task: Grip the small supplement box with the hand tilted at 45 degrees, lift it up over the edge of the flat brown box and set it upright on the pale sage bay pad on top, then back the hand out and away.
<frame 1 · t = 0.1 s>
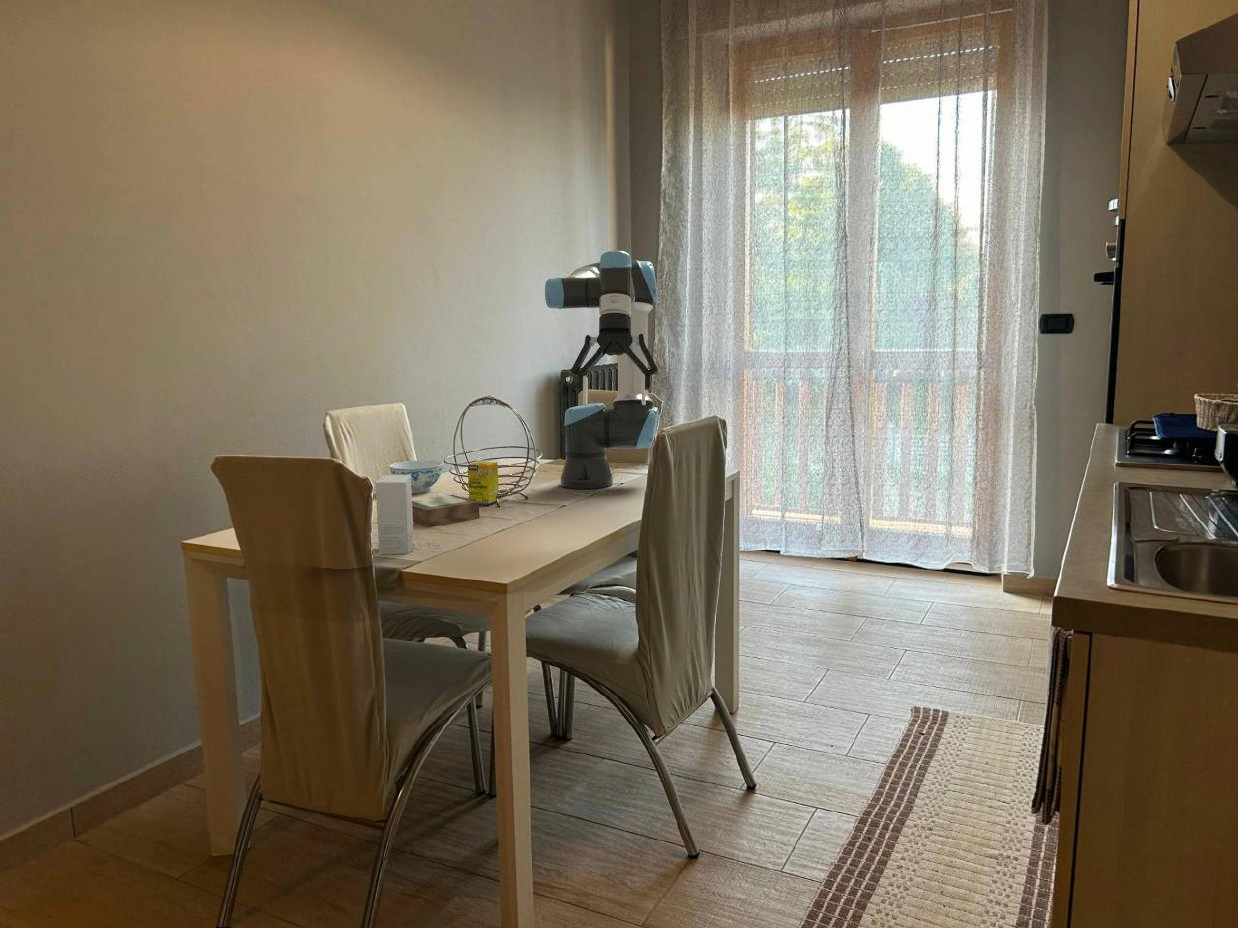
hand: (614, 404, 213), 28 cm above the table, tool tilted 20°, fingers open, 13 cm apart
chinaware: (417, 491, 263), on the table
flat brown box: (441, 518, 226), on the table
supplement box: (484, 504, 242), on the table
skincare box: (397, 550, 195), on the table
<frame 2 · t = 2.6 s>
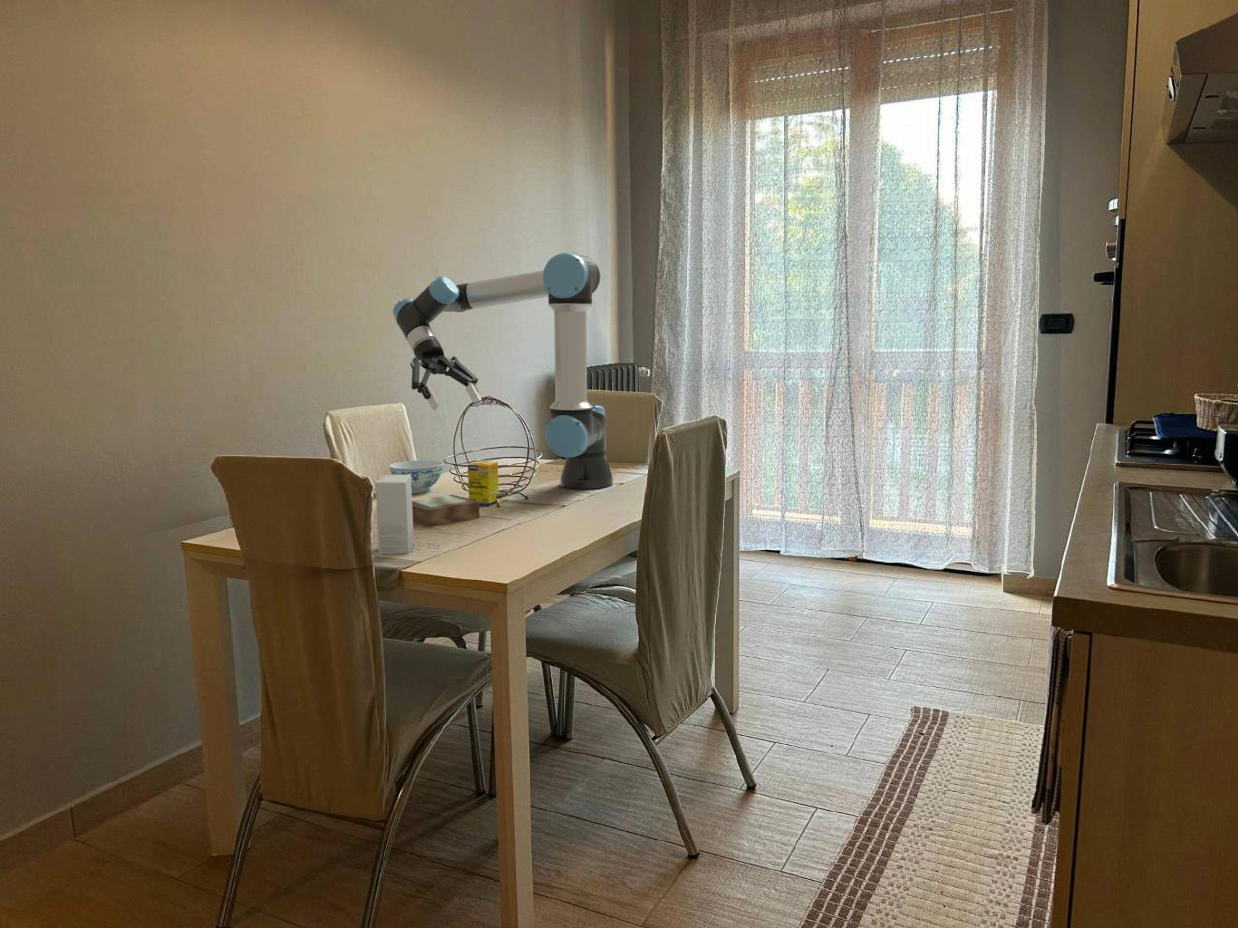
hand: (458, 405, 246), 25 cm above the table, tool tilted 45°, fingers open, 13 cm apart
nothing on the table moved.
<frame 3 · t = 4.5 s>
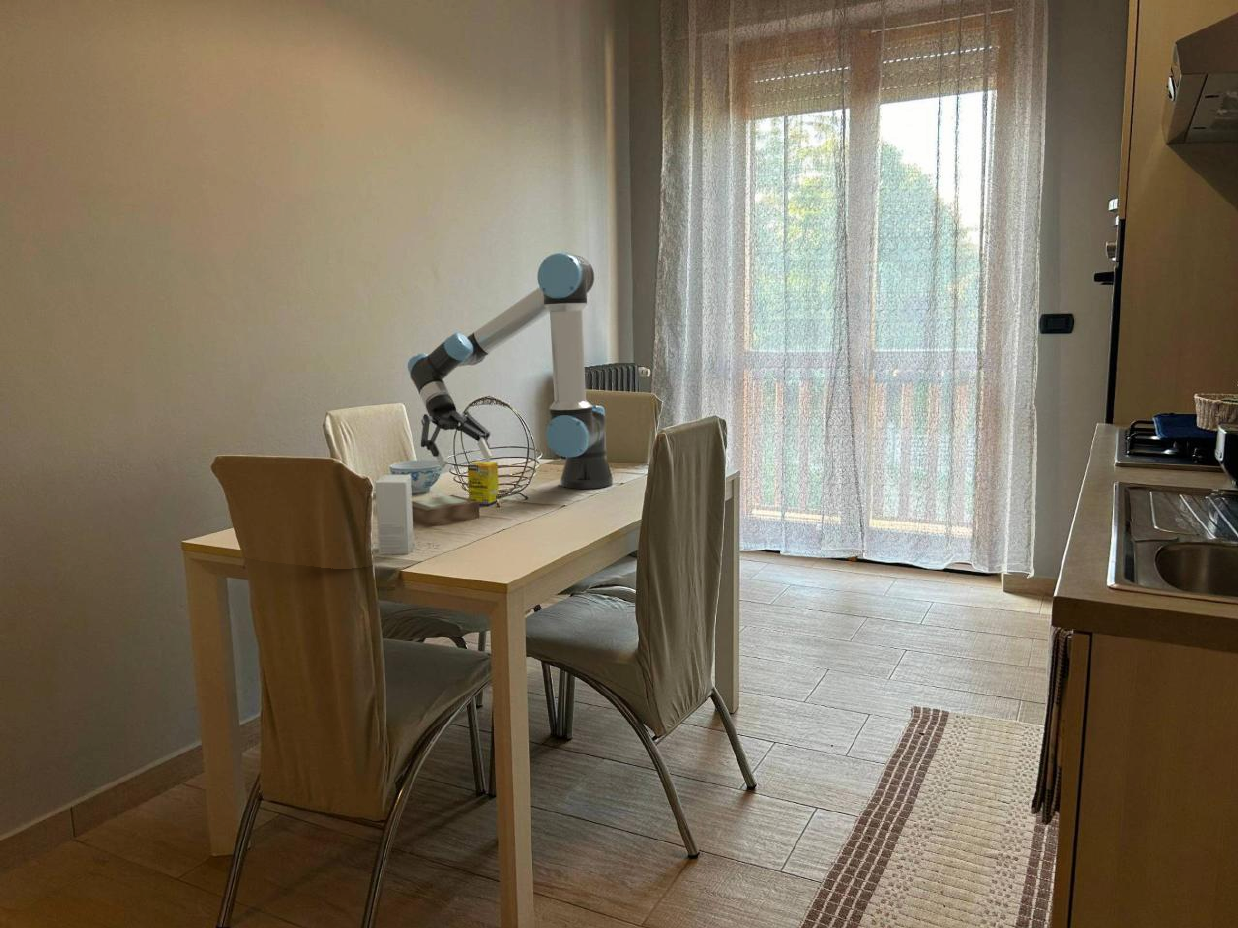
hand: (467, 462, 245), 11 cm above the table, tool tilted 45°, fingers open, 13 cm apart
nothing on the table moved.
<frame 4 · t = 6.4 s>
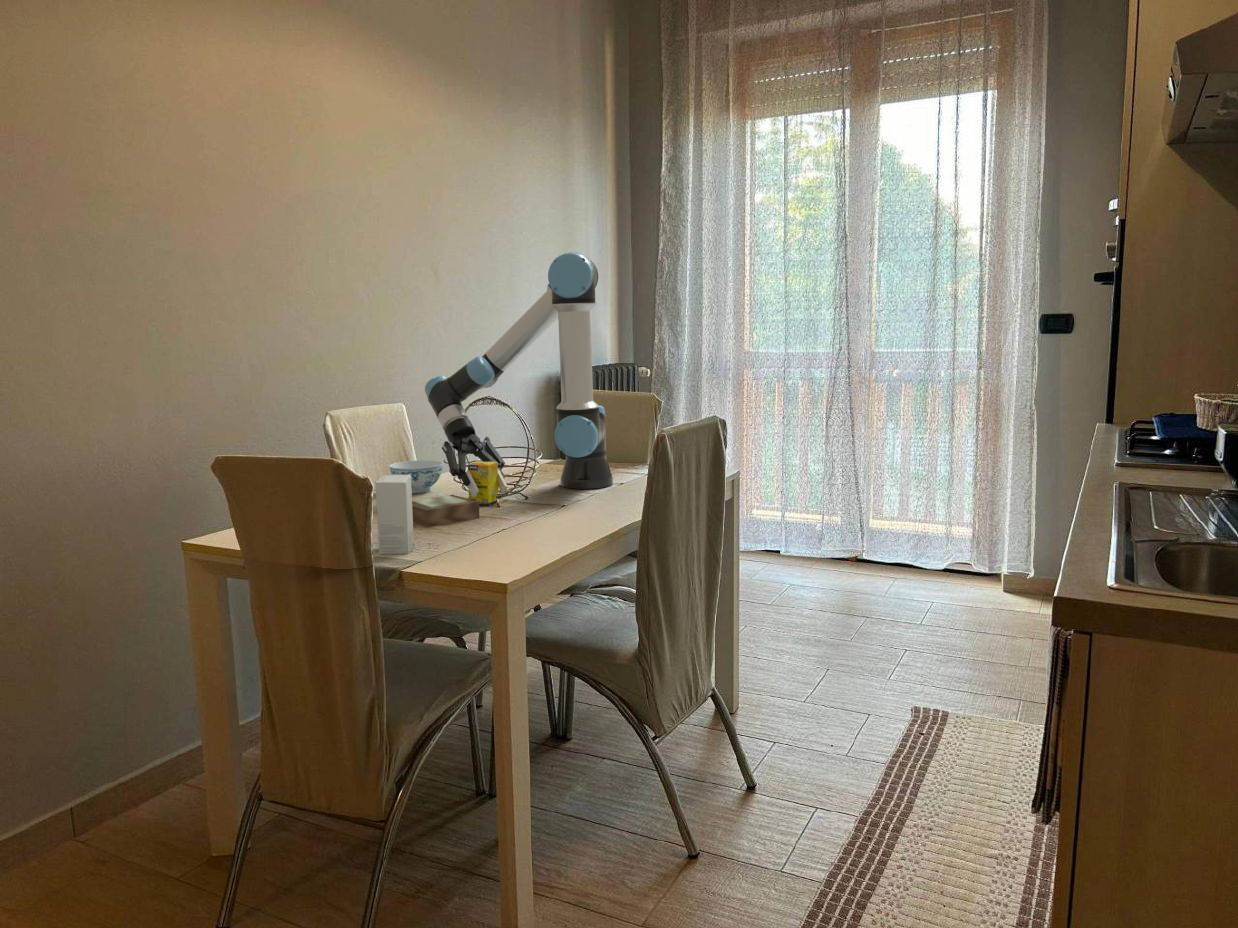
hand: (490, 491, 239), 4 cm above the table, tool tilted 45°, fingers closed on supplement box, 8 cm apart
supplement box: (484, 504, 242), on the table, touching gripper
everything else where it was.
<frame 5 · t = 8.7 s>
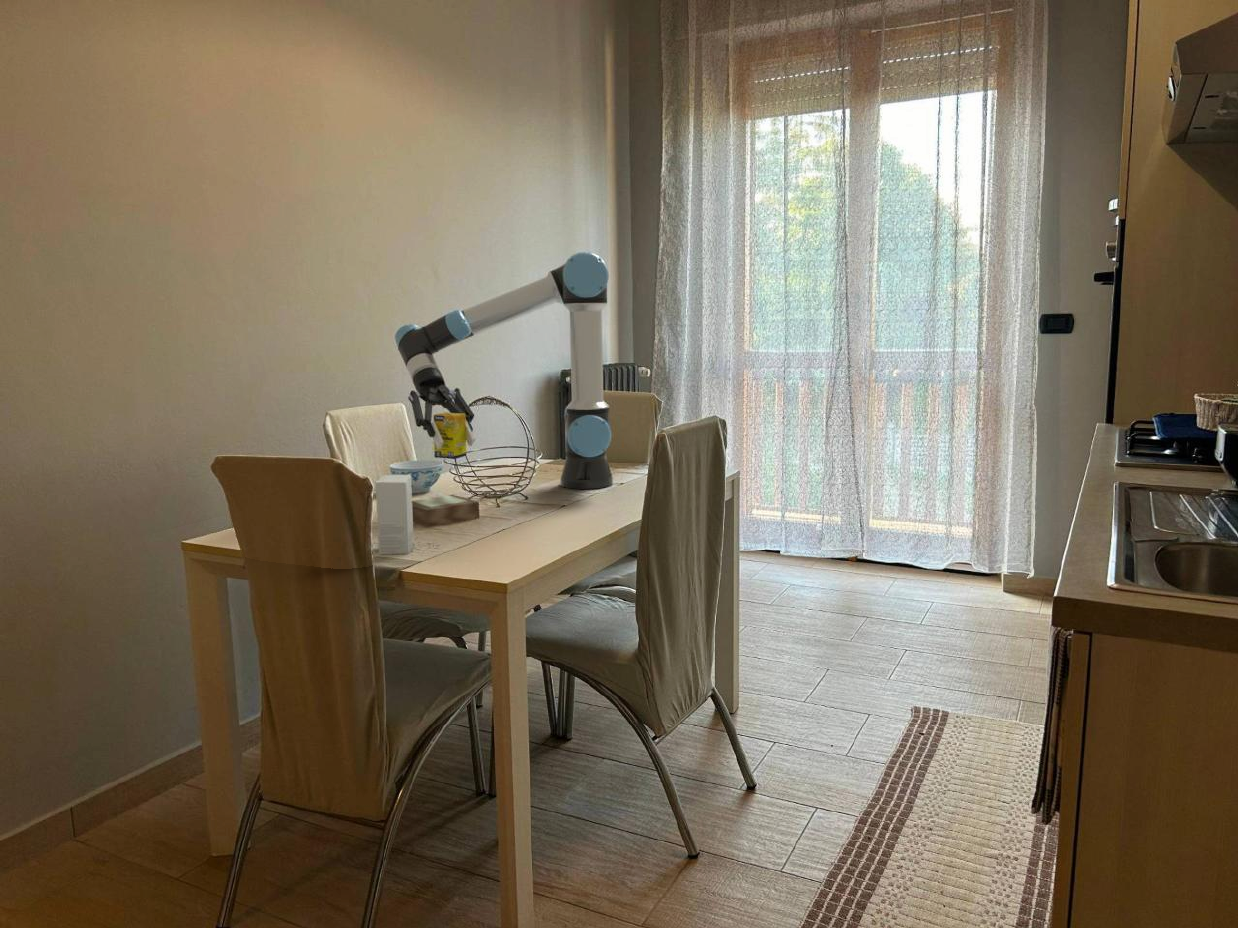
hand: (456, 444, 229), 17 cm above the table, tool tilted 45°, fingers closed on supplement box, 8 cm apart
supplement box: (450, 457, 232), point 14 cm above the table, touching gripper
everything else where it was.
when the fingers open (9 cm above the table, at t = 11.4 s): supplement box drops 1 cm, resting on flat brown box.
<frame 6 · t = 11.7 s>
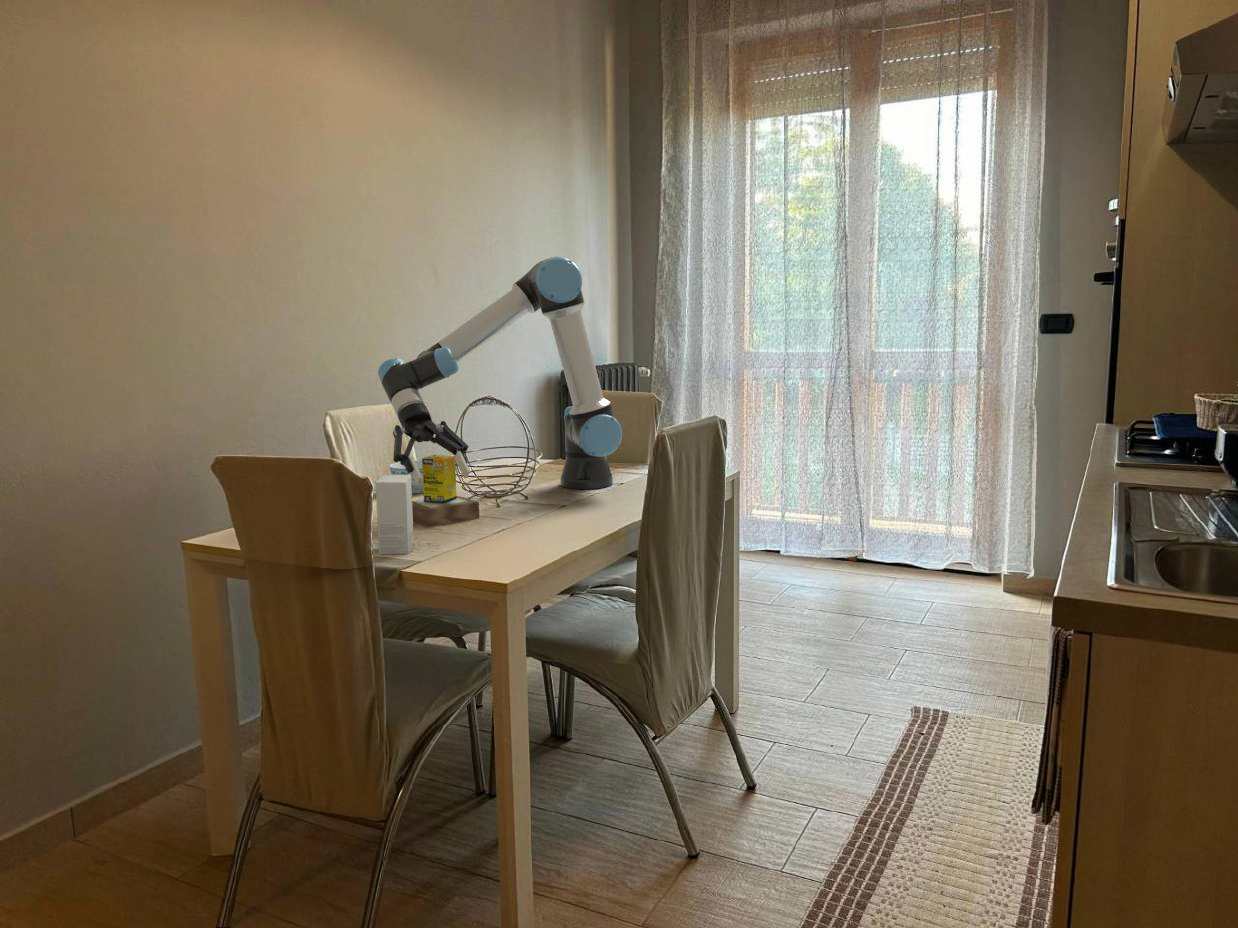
hand: (443, 478, 222), 10 cm above the table, tool tilted 45°, fingers open, 12 cm apart
supplement box: (440, 501, 225), point 4 cm above the table, touching flat brown box
everything else where it was.
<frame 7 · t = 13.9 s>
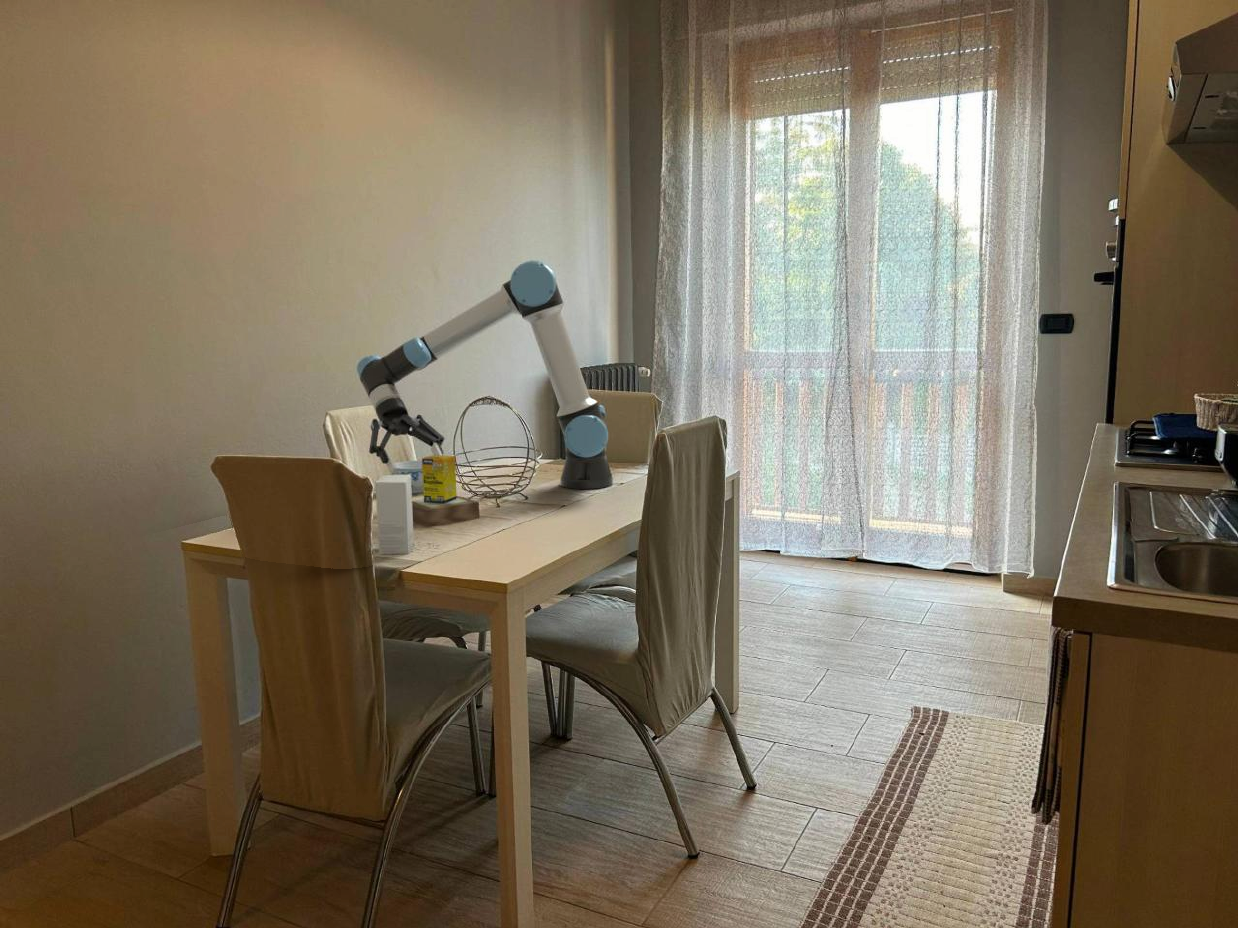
hand: (419, 468, 233), 11 cm above the table, tool tilted 45°, fingers open, 13 cm apart
nothing on the table moved.
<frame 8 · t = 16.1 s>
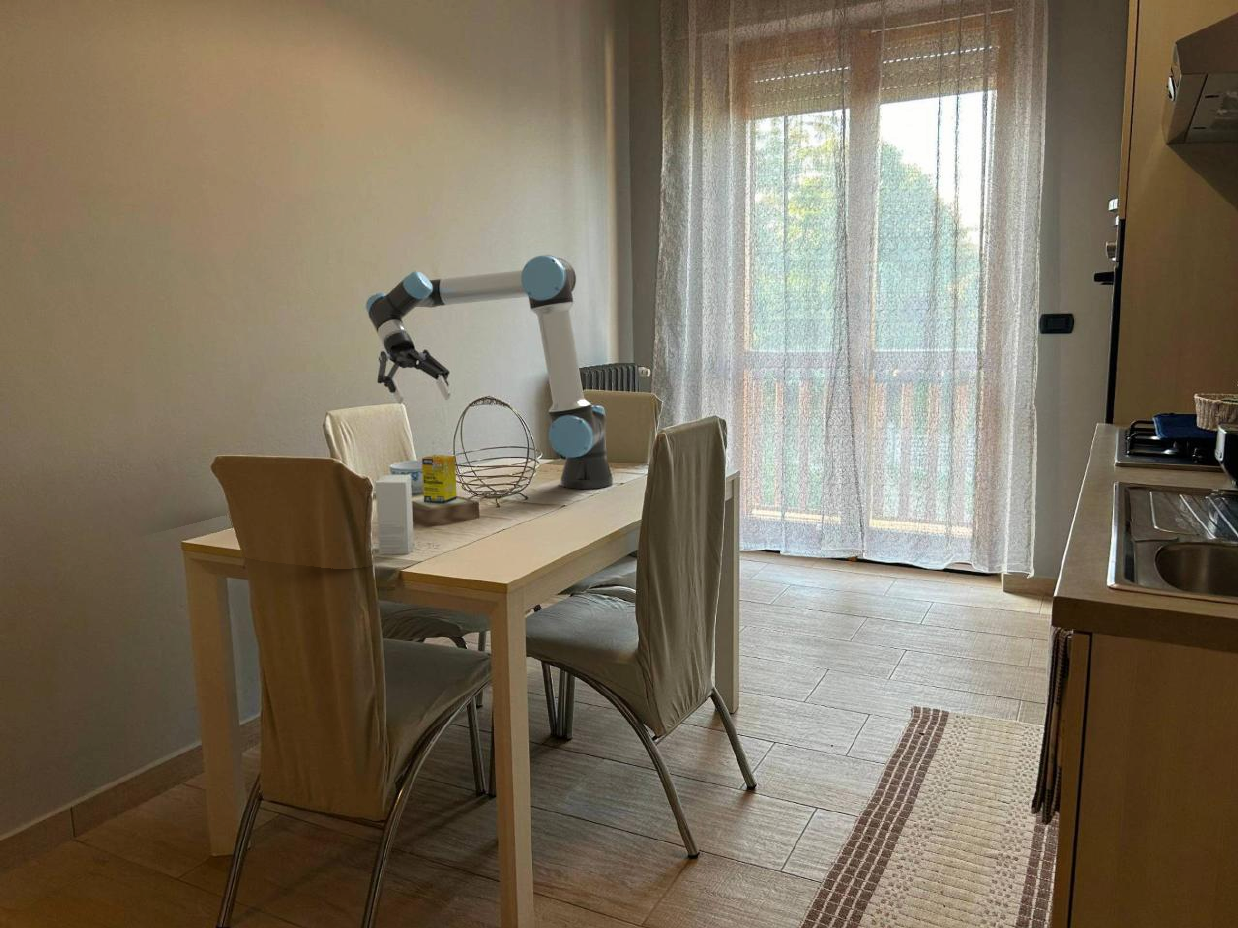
hand: (425, 398, 242), 28 cm above the table, tool tilted 45°, fingers open, 13 cm apart
nothing on the table moved.
at the end: supplement box inside the target area (0.1 cm from its centre), point 4.1 cm above the table; supplement box tilted 0°; the gripper is holding nothing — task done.
